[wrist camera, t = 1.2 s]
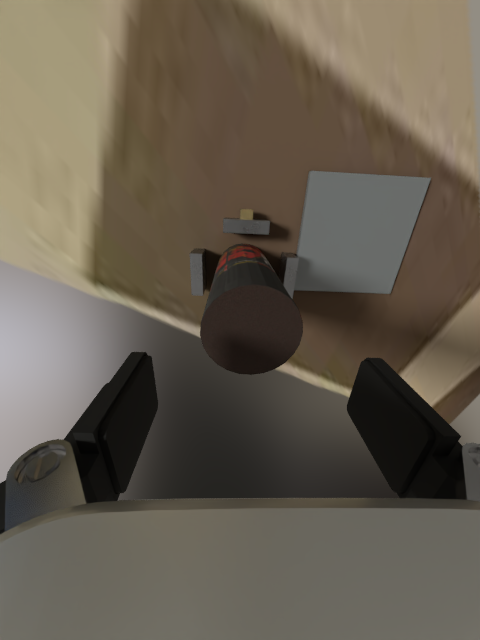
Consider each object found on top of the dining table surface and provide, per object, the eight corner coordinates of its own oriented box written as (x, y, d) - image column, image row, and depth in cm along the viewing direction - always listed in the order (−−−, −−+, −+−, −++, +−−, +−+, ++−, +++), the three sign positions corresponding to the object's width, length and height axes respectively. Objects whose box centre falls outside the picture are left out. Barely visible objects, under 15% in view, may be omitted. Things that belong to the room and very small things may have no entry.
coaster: (308, 171, 23) (310, 170, 22) (426, 178, 23) (431, 178, 22) (291, 288, 28) (292, 290, 27) (387, 292, 28) (390, 293, 28)
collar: (192, 206, 24) (187, 206, 21) (298, 211, 24) (306, 212, 21) (197, 318, 29) (193, 329, 27) (282, 320, 30) (287, 332, 27)
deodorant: (277, 260, 26) (324, 315, 13) (251, 302, 28) (267, 387, 15) (232, 233, 25) (230, 263, 11) (208, 279, 27) (183, 351, 14)
